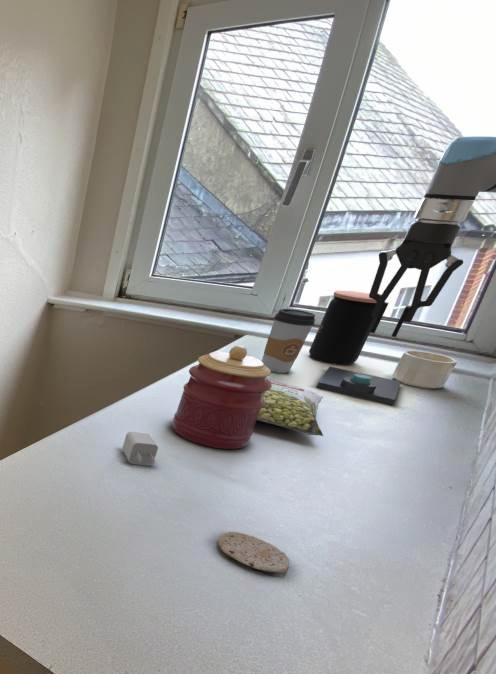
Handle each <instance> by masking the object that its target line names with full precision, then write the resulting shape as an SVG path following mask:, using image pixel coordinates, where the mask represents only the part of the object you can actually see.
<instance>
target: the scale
mask: <svg viewBox="0 0 496 674" xmlns="http://www.w3.org/2000/svg"><path fill="white" fill-rule="evenodd" d="M354 374H362V375H366V376H369V377H371V380H370V382H369V385H364V384H358V383H355V382H352V381H351V380H352V377H353V375H354ZM400 386H401V382H400V381H397V380H396V379H390V378H386V377H381V376H377V375H371V374H367V373H362V372H357V371H353V370H348V369H344V368H339V367H334V366H328V368H327V369H326V371H325V372H324V374H323V375H322V377H321V378H320V379H319V381H318V382H317V384H316V388H317V389H320V390H325V391H330V392H334V393H338V394H342V395H345V396H351V397H355V398H358V399H359V398H360V399H362V400H363V399H364V400H368V401H372V402H376V403H381V404H385V405H389V406H394V404H395V402H396V399H397V397H398V393H399V389H400Z"/></svg>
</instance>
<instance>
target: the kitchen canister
mask: <svg viewBox="0 0 496 674" xmlns="http://www.w3.org/2000/svg"><path fill="white" fill-rule="evenodd" d="M197 361H198V364H195V365H193V366H191V367H190V368H189V369H188V373H189V375H190V377H189V379H188V381H187V382H186V383H185V384H183V390H182V393H181V397H180V400H179V403H178V406H177V409H176V412H175V413H174V415H173V418H172V429H173V430H174V431H175V433H176V434H178V435H179V436H181V437H182V438H184V439H187V440H188V441H191V442H193V443H195V444H198V445H202V446H206V447H210V448H215V449H223V450H236V449H241V448H244V447H245V446H247V444H248V442H249V441H250V440H251V439H252V435H253V430H254V428H255V425H256V423H257V421H258V420H257V418H258V416H259V413H260V411H261V408H262V407H263V406H264V404H265V401H264V399H263V398H264V394H265V392H266V391H268V390H269V389H270V388H271V387H272V385H271V383H270V381H271V380H269V379H268V378H267V377H269V376H270V375H271V374H272V372H271V370H270V369H269V368H268V367H266V366H265V365H264V363H263V362H262V360H260V359H259V358H256V357H253V356H250V355H248V350H247V348H246V347H245V346H243V345H235V346H233V347H231V348H230V350H229V351H219V350H218V351H212V352H210V353H207V354H204V355H200V356H199V357H198V358H197Z"/></svg>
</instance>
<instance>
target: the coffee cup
mask: <svg viewBox="0 0 496 674" xmlns="http://www.w3.org/2000/svg"><path fill="white" fill-rule="evenodd" d="M315 317H316V314H315V313H313V312H311V311H306V310H302V309H301V310H300V309H292V308H280V309H279V311H278V312H276V314H275V316H274V317H273V322H272V325H271V329H270V332H269V335H268V338H267V341H266V344H265V347H264V351H263V354H262V359H261V361H262V362H263V363H264V365H265V366H266V367H268V368H269V369H270V370H271V373H277V374H278V373H279V374H287V373H288V372H290V371H291V369H292V367H293V365H294V363H295V361H296V359H297V358H298V356H299V354H300V352H301V351H302V349H303V346H304V344H305V342H306V339H307V337H308V335H309V334H310V333H311V330H312V328H313V326H314V325H315V322H316V319H315Z"/></svg>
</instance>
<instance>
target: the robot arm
mask: <svg viewBox="0 0 496 674" xmlns="http://www.w3.org/2000/svg"><path fill="white" fill-rule="evenodd" d="M479 193H496V136H459V137H456V138H454V139H453V140H451V141H450V142H449V143H448V145H447V147H446V148H445V150H444V151H443V154H442V156H441V158H440V160H439V161H438V162H437V167H436V168H435V171H434V173H433V175H432V178H431V180H430V182H429V184H428V187H427V189H426V191H425V192H424V195H423V198H422V199H421V201H420V203H419V206H418V208H417V209H416V212H415V214H414V217H413V218H414V219H415V221H413V222H411V223H410V225H409V227H408V229H407V231H406V233H405V236H404V237H403V240H402V242H401V244H399V245H398V246H397V247H396V248H395V249H391V250H382V251H381V252H379V254H378V260H379V261H378V262H379V264H378V267H377V270H376V273H375V276H374V279H373V282H372V284H371V288H370V291H369V293H368V294H369V297H370V298H372V299H374V300H376V302H377V303H376V305H375V308H374V310H373V312H372V317H377V319H376V321H375V323H374V325H373V327H372V329H371V331H370V334H375V333H376V331H377V329H378V327H379V326H380V325H379V324H380V323H381V321H382V318H383V317H384V314H385V312H386V310H387V308H388V307H389V302H387V299H388V297H389V296H390V295H391V294H392V292H393V291H394V289H395V287H396V286H397V284H398V283H399V282H400V280H401V279H402V277H403V276H404V274H405V273H406V272H407V270H408V269H409V270H410V269H416V270H418V271H420V272H419V277H418V280H417V284H416V287H415V290H414V295H413V298H412V302H411V304H410V305H407V304H406V305H405V307H404V309H403V311H402V314H401V315H400V317H399V320H398V322H397V324H396V326H395V328H394V330H393V331H392V334H391V338H392V337H393V338H396V337H397V336H398V334H399V331H400V330H401V327H402V325H403V324H404V323H411V322H412V321H413V319H414V317H415V314H416V312H417V311H418V309H420V308H423V307H424V308H425V307H431V306H432V305H433V304H434V302H435V301H436V299H437V298H438V296H439V294H441V291H442V290H443V288H444V287H445V285H446V283H447V282H448V281H449V279H450V277H451V276H452V274H453V273H454V272H455V271H456V270H457V269H458V268H459V267H461V266H462V265H463V264H464V260H463V259H462V258H458V257H456V256H455V255H453V254H452V247H453V244H454V242H455V241H456V238H457V236H458V234H459V232H460V230H461V224H460V223H462V222H465V220H466V219H467V217H468V214H469V213H470V210H471V209H472V207H473V204H474V202H475V201H476V199H477V197H478V195H479ZM395 255H396V257H397V259H398V262H399V264H400V266H399V268H398V269H397V271H396V272H395V274H394V276H393V277H391V279H390V281H389V283H388V284H387V286H386V287H385V289H384V290H383V292H382V293H381V294H380V293H379V290H380V288H381V286H382V285H381V284H382V281H383V279H384V276H385V272H386V271H387V267H388V265H389V264H388V263H389V261H391V260H393V257H394V256H395ZM444 261H446V262H445V267H446V268H445V269H444V270H443V272H442V274H441V275H440V277H439V278H438V280H437V281H436V283H435V285H434V286H433V288H432V289H431V291H430V293H429V294H428V296H427V298H426V299H422V298H423V294H424V291H425V287H426V283H427V281H428V277H429V273H430V270H431V269H432V268H434V267H435V266H437V265H439V264H440V263H442V262H444Z"/></svg>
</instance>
